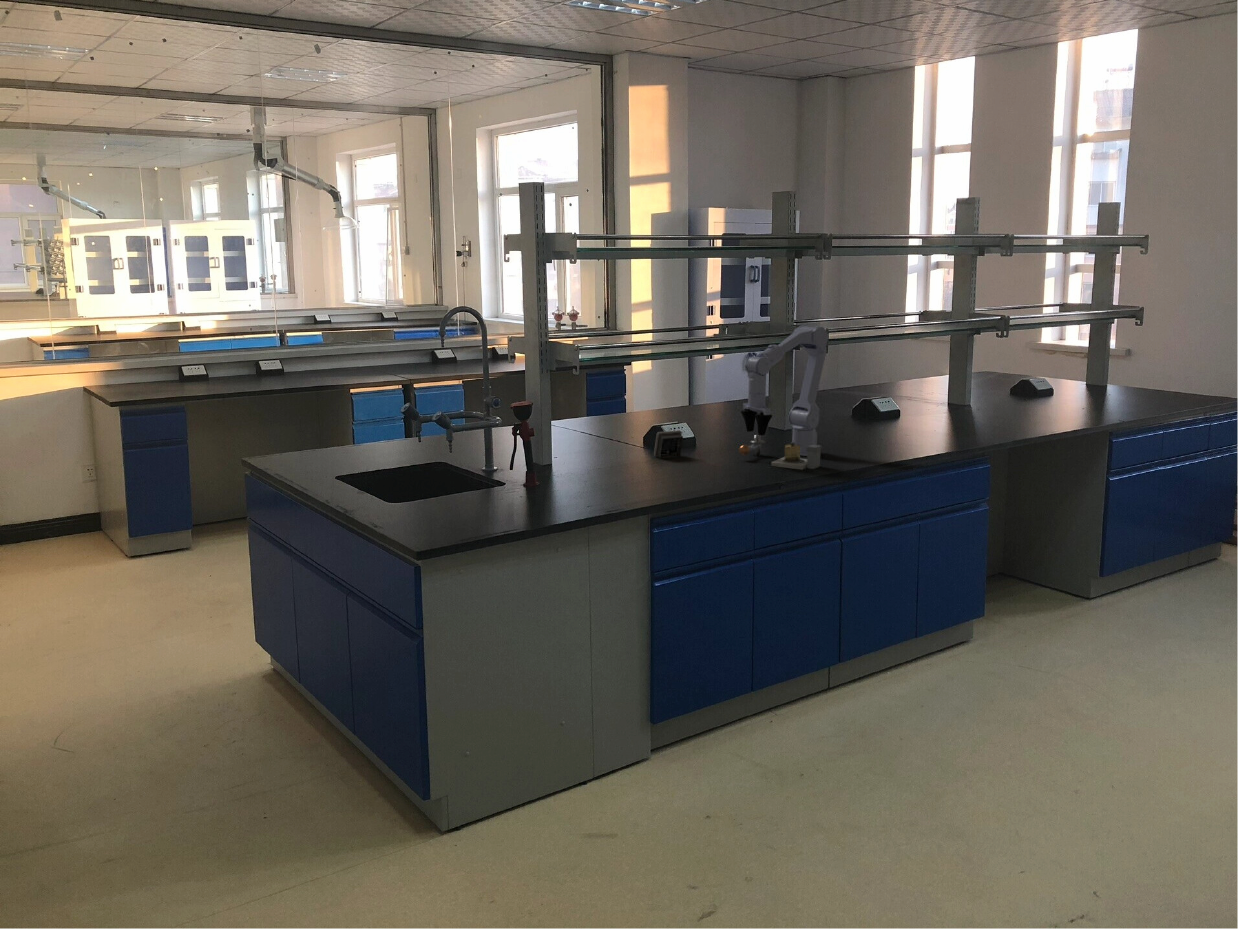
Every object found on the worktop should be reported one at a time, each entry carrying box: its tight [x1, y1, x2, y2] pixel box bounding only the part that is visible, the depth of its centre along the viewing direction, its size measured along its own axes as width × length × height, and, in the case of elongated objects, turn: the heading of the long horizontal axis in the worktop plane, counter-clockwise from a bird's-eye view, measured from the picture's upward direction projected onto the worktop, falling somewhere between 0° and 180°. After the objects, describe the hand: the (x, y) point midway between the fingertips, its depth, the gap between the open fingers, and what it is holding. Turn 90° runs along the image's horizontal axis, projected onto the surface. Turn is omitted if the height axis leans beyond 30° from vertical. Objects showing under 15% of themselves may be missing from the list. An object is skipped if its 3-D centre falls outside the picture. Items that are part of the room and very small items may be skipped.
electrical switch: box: [653, 429, 684, 459], centre depth 348 cm, size 9×5×9 cm, turn 113°
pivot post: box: [749, 434, 766, 457], centre depth 351 cm, size 5×5×7 cm
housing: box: [784, 441, 801, 462], centre depth 336 cm, size 5×5×6 cm
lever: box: [738, 443, 757, 456], centre depth 345 cm, size 10×4×4 cm, turn 146°
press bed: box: [770, 444, 822, 471], centre depth 335 cm, size 11×14×7 cm
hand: (755, 433), depth 340 cm, fingers open, 7 cm apart
